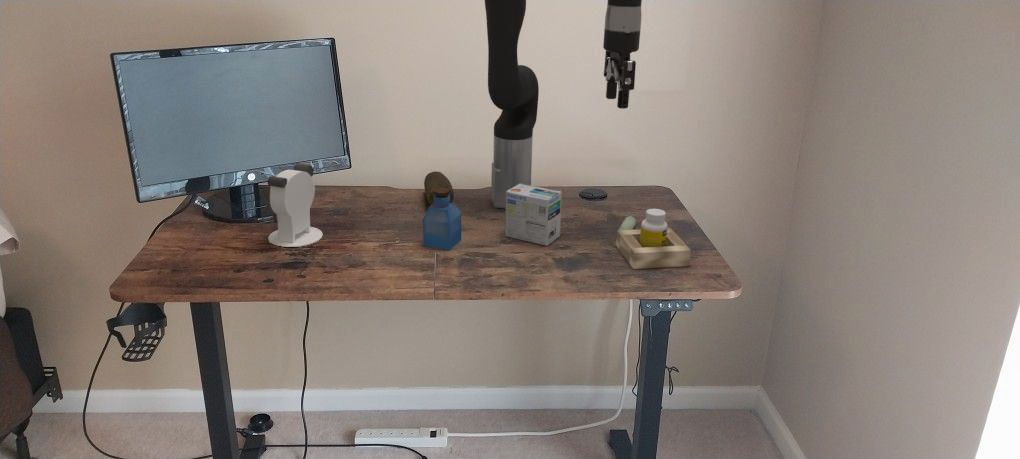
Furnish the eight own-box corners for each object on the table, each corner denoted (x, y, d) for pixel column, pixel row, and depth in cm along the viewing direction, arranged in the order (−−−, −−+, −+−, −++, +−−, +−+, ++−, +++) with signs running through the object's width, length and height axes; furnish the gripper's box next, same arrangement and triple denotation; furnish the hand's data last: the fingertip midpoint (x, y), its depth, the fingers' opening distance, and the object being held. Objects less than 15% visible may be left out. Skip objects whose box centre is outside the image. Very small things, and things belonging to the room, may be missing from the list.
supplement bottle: (664, 261, 161) (668, 217, 158) (637, 259, 162) (641, 215, 159) (664, 251, 166) (669, 208, 163) (638, 248, 167) (642, 206, 164)
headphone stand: (290, 223, 176) (284, 159, 170) (334, 230, 173) (329, 166, 167) (257, 243, 166) (250, 176, 160) (303, 251, 162) (297, 183, 156)
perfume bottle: (461, 239, 170) (461, 187, 165) (449, 250, 164) (449, 197, 160) (435, 235, 172) (434, 183, 167) (423, 246, 166) (422, 193, 162)
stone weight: (458, 212, 185) (458, 185, 183) (429, 214, 184) (428, 187, 181) (447, 191, 199) (447, 165, 196) (420, 192, 197) (419, 167, 194)
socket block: (633, 269, 158) (634, 253, 156) (615, 245, 169) (617, 230, 167) (689, 265, 160) (691, 250, 158) (668, 242, 171) (670, 227, 169)
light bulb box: (560, 236, 173) (563, 190, 168) (547, 247, 167) (549, 199, 163) (518, 226, 177) (519, 182, 173) (503, 236, 172) (504, 190, 168)
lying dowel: (616, 228, 172) (617, 239, 173) (627, 228, 171) (629, 239, 172) (624, 216, 179) (625, 226, 180) (635, 215, 178) (636, 226, 179)
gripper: (596, 22, 170) (591, 96, 176) (615, 32, 157) (609, 111, 163) (629, 22, 171) (623, 95, 177) (650, 32, 158) (643, 111, 164)
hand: (616, 103), depth 170 cm, fingers open, 8 cm apart
